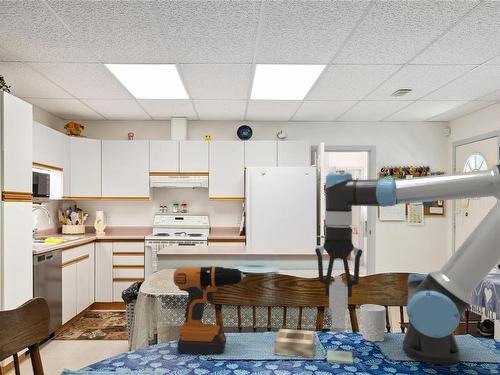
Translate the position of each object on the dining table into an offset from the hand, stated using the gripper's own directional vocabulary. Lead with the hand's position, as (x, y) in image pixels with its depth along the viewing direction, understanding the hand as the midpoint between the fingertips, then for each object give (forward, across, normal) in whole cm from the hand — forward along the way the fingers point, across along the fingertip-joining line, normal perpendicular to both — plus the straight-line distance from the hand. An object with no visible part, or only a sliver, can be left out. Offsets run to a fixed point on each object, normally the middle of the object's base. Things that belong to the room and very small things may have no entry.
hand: (338, 307), depth 109 cm
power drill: (+15, +38, +3) cm, 40 cm away
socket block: (+14, +13, -3) cm, 19 cm away
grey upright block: (+5, 0, 0) cm, 5 cm away
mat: (+14, 0, 0) cm, 14 cm away
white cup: (+14, -11, -18) cm, 26 cm away
